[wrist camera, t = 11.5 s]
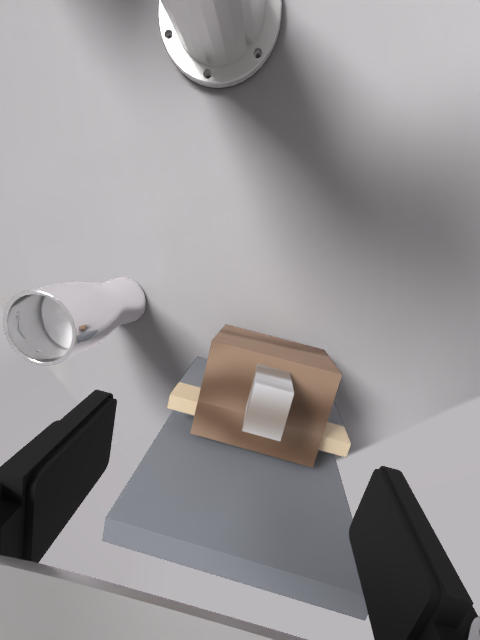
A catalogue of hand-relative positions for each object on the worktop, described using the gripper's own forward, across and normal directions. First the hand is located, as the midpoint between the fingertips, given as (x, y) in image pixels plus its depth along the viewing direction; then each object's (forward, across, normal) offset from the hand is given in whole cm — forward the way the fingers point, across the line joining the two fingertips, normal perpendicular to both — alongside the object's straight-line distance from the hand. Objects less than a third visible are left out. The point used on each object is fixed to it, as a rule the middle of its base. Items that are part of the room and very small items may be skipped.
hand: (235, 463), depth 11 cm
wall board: (+28, -2, +12) cm, 31 cm away
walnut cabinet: (+25, -2, +8) cm, 27 cm away
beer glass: (+29, +18, +4) cm, 34 cm away
